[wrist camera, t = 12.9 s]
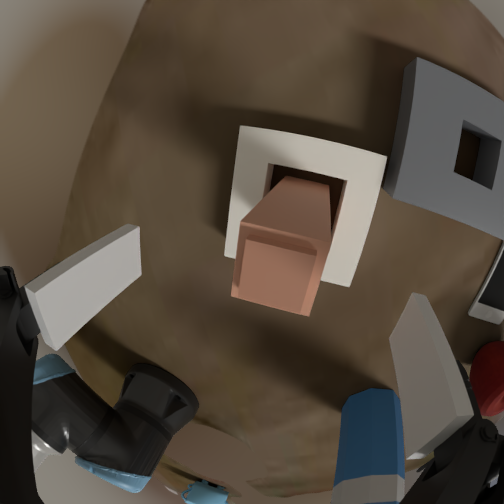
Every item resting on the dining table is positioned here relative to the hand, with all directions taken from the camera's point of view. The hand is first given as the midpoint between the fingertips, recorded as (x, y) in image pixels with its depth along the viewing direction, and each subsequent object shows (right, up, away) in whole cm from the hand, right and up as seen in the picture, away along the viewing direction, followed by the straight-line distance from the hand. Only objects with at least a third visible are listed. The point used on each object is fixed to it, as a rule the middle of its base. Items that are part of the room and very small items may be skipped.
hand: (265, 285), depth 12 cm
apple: (+33, -13, +13) cm, 38 cm away
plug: (+4, +6, +13) cm, 15 cm away
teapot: (-15, -91, +63) cm, 112 cm away
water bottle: (+18, -22, +22) cm, 36 cm away
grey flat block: (+19, +11, +6) cm, 23 cm away
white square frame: (+4, +6, +13) cm, 15 cm away
